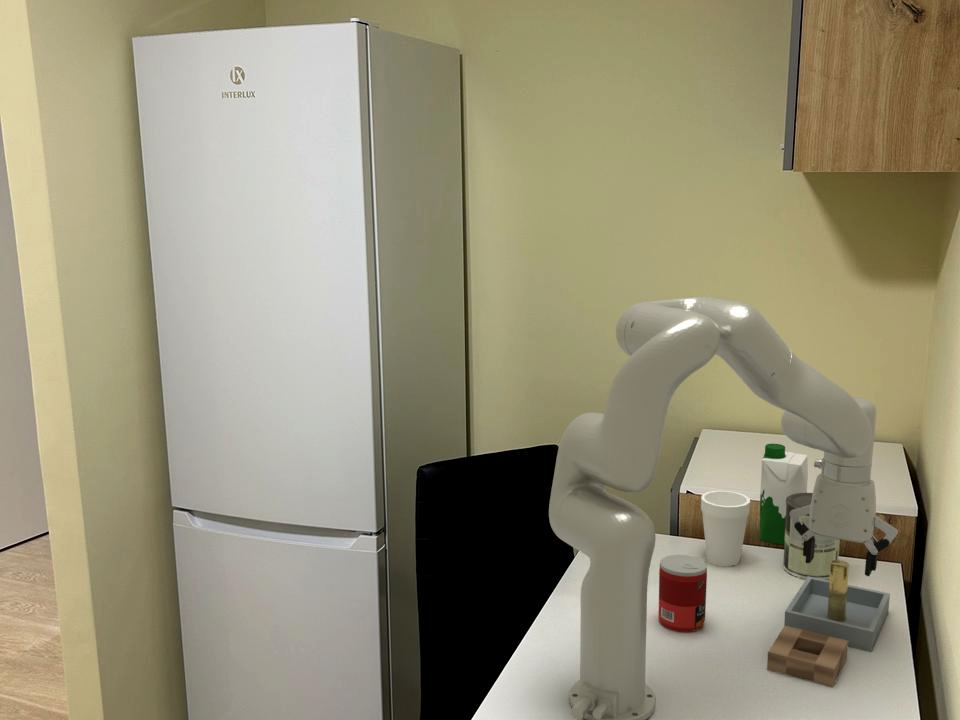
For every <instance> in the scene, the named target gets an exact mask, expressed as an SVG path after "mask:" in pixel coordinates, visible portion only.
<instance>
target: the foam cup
mask: <svg viewBox="0 0 960 720" xmlns="http://www.w3.org/2000/svg"><path fill="white" fill-rule="evenodd" d="M700 498H701V500H700V511H701V512H702V524H703V533H704V541H705V542H704V543H705V552H706V560H707V561H708V562H709V563H710V564H712V565H715V566H717V565H719V566H718V567H723V566H730V567H733V566H732V565H735V566H737V565H738V564H740V560H741V555H742V550H743V545H744V539H745V533H746V530H747V523H748V518H749V514H750V508H751V498H750V497H748V496H747V495H746V494H743V493H740V492H736V491H732V490H713V491H711V490H710V491H707V492H705V493H703V494H701V497H700ZM737 563H738V564H737ZM736 564H737V565H736Z"/></svg>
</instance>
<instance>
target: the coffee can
mask: <svg viewBox="0 0 960 720" xmlns="http://www.w3.org/2000/svg"><path fill="white" fill-rule="evenodd" d="M812 495H813V492H807V493H796V494H792V495H790V496H788V497H787V498H786V524H785V543H784V547H783V548H784V549H783V564H782V568H783V570H784V569H785V570H786V571H787V572H788V573H787V572H786V571H785V570H784V571H785V572H786V573H787V574H789V573H790V574H793V575H794V576H793V577H795V576H797V577H796V578H798V577H800V578H799V579H801V578H804V579H803V580H806V578H807V577H808V576H809V577H814V578H819V579H824V580H828V579H829V577H830V562H831V561H833V560H839V556H840V555H839V554H840V540H841V539H836V538H831V537H826V536H821V535H817V534H815V535H814V538H815V549H814V558H813V560H812V561H811V562H810V563H809V564H808V563H806V562H805V561H806V556H803V546H804V540H803V539H802V536H801V535H800V534H799V532H798V531H797V530H796V529H795V527H794V523H793V522H792V519H791V517H790V515H789V513H790V512H791V511H792V510H793V509H797V508H801V507H804V506H808V505H811V500H812ZM800 517H801V520H802V522H803V523H804V524H805V525H806V526H807V528H809V514H807V515H803V516H800ZM812 520H813V519H812ZM790 574H789V575H790ZM828 581H829V580H828Z"/></svg>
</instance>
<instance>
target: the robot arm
mask: <svg viewBox="0 0 960 720" xmlns="http://www.w3.org/2000/svg"><path fill="white" fill-rule="evenodd" d="M615 337H616V338H615V339H616V342H617V344H618V346H619V348H620V349H621V351H622V352H623V353H625V354H626V355H628V356H629V357H628V358H627V360H625V362H624V363H623V364H622V365H621V366H620V367H619V369H618V370H617V372H616V374H615V375H614V377H613V379H612V382H611V384H610V388H609V391H608V395H607V400H606V405H605V408H604V413H601V412H594V411H592V412H591V411H590V412H585V413H583V414H580V415H578V416H577V417H575V418H574V419H572V421H571V422H570V423H569V424H568V425H567V427H566V428H565V430H564V432H563V434H562V436H561V438H560V440H559V441H560V442H559V445H558V450H557V455H556V461H555V465H554V466H555V467H554V474H553V479H552V486H551V491H550V497H549V498H550V499H549V506H548V507H549V508H548V518H549V524H550V527H551V529H552V531H553V533H554V534H555V536H557V538H559V539H560V540H562V541H563V542H564V543H566V544H567V545H569V546H571V547H572V548H574V549H576V550H577V551H579V552H581V553H582V554H584V555H586V557H588V558H589V561H590V565H589V568H588V569H587V572H586V574H585V576H584V577H583V580H582V581H581V582H582V583H581V587H580V637H579V638H580V643H579V644H580V648H579V649H580V650H579V651H580V652H579V653H580V655H579V656H580V657H579V658H580V659H579V663H580V665H579V677H580V678H579V680H578V681H576V682H575V683H574V684H573V685H572V686H571V688H570V690H569V704H570V706H571V709H570V715H571V716H572V717H573V719H575V720H582V719H584V720H646V719H648V718H650V717H651V716H652V715H653V713H654V712H655V709H656V695H655V693H654V691H653V690H652V688H650V687H649V685H647V684H646V662H647V661H646V660H647V659H646V658H647V657H646V655H647V652H646V651H647V649H646V648H647V619H648V618H647V616H648V613H647V612H648V609H647V608H648V607H647V606H648V605H647V604H648V586H649V585H648V583H649V574H650V567H651V563H652V559H653V554H654V550H655V546H656V541H657V539H656V537H657V536H656V530H655V526H654V523H653V521H652V520H651V518H650V517H649V516H648V514H647V513H646V512H645V511H643V510H642V509H641V508H640V507H639V506H637V505H635V504H634V503H633V502H630V501H629V500H626V499H624V498H622V497H620V496H618V495H615V494H613V493H610V492H608V491H606V487H607V486H608V487H610V488H612V489H614V490H617V491H620V492H623V493H628V494H638V493H641V492H643V491H645V490H646V489H648V488H649V486H650V485H651V484H652V483H653V480H654V478H655V477H656V472H657V470H658V469H657V468H658V464H659V460H660V453H661V447H662V442H663V436H664V430H665V425H666V420H667V414H668V412H669V411H668V410H669V405H670V403H671V400H672V398H673V396H674V394H675V393H676V391H677V390H678V388H679V387H680V386H681V384H682V383H684V382H685V381H686V379H688V378H689V377H690V376H692V375H693V374H694V373H695V372H697V371H698V370H700V369H701V368H703V367H705V366H706V365H707V364H708V363H709V362H710V361H711V360H712V359H713V358H714V356H715V355H716V356H718V357H719V358H721V359H722V360H724V362H725V363H726V364H727V365H728V366H729V367H730V368H731V370H733V372H735V374H736V375H737V376H738V377H739V378H740V379H741V381H742V382H743V383H744V384H745V385H746V386H747V387H748V389H749V390H750V391H751V392H752V393H753V394H754V395H756V396H757V397H758V398H760V399H762V400H763V401H765V402H766V403H769V404H771V405H773V406H775V407H776V408H779V409H781V410H784V411H783V414H782V415H781V420H780V425H781V427H780V428H781V429H782V432H783V433H784V435H785V436H786V437H787V438H788V439H789V440H791V441H792V442H794V443H795V444H799V445H802V446H804V447H808V448H810V449H814V450H818V451H822V452H823V458H822V459H815V460H814V462H813V466H814V468H818V469H819V470H820V471H821V473H819V474H817V476H816V478H815V482H814V486H813V489H812V490H813V491H812V493H813V495H812V500H811V505H808V506H804V507H801V508H797V509H793V510H792V511H791V512H790V513H789V515H790V517H791V519H792V522H793V523H794V527H795V529H796V530H797V531H798V532H799V534H800V535H801V536H802V539H803V540H804V546H803V556H806V561H805V562H806V563H808V564H809V563H810V562H811V561H812V560H813V558H814V549H815V538H814V535H815V534H817V535H821V536H826V537H831V538H836V539H840V540H842V541H847V542H852V543H859V544H864V545H865V546H866V549H867V550H868V551H867V553H866V555H865V567H864V576H866V577H870V576H871V574H872V572H875V571H876V569H877V565H878V554H879V552H881V551H883V550H884V549H886V548H887V547H889V546H890V544H891V543H892V541H893V540H894V539H895V538H896V536H897V535H898V533H899V531H898V529H897V528H896V527H894V526H892V525H891V524H890V523H888V522H887V521H885V520H884V519H882V518H881V517H879V516H878V515H877V496H876V486H875V481H874V480H872V479H871V478H872V477H871V475H872V474H871V473H872V464H873V455H874V454H873V453H874V442H875V435H876V433H875V432H876V431H875V430H876V423H877V422H876V421H877V420H876V419H877V407H876V405H875V403H873V402H872V401H871V400H869V399H866V398H861V397H856V396H855V397H854V396H852V395H851V394H849V392H847V391H846V390H845V389H844V388H843V387H841V386H840V385H839V384H837V383H836V382H835V381H833V380H831V379H830V378H829V377H827V376H825V375H824V374H822V372H820V371H818V370H817V369H816V368H815V367H813V366H812V365H810V364H808V363H806V362H805V361H804V360H802V359H801V358H799V357H798V356H797V355H796V354H795V353H794V351H793V350H792V349H791V348H790V346H788V344H787V343H786V342H785V341H784V340H783V338H782V337H781V336H780V334H778V333H777V331H776V330H775V329H774V327H773V326H772V325H771V324H770V323H769V321H768V320H767V319H766V318H765V316H763V314H762V313H761V312H760V311H759V310H758V309H757V308H756V307H754V306H752V305H751V304H748V303H745V302H743V301H736V300H732V299H731V300H730V299H725V298H724V299H723V298H716V297H710V296H693V297H692V296H691V297H680V298H671V299H660V300H652V301H651V300H650V301H642V302H638V303H635V304H633V305H631V306H629V307H628V308H627V309H625V310H624V311H623V313H622V314H621V315H620V317H619V318H618V321H617V324H616V328H615ZM807 514H809V528H807V526H806V525H805V524H804V523H803V522H802V520H801V517H800V516H803V515H807ZM812 519H813V520H812ZM876 528H877V529H879V531H882V532H883V533H885V536H884V537H882V538H881V539H879V540H878V539H877V538H876V536H875V535H874V534H875V531H876Z"/></svg>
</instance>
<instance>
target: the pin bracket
mask: <svg viewBox="0 0 960 720" xmlns="http://www.w3.org/2000/svg"><path fill="white" fill-rule="evenodd" d="M848 648H849V646H848V641H847V640H843V639H839V638H835V637H831V636H827V635H823V634H818V633H814V632H810V631H806V630H802V629H798V628H793V627H789V626H783V627H782V629H781V631H780V632H779V633H778V635H777V637H776V638H775V640H774V642H773V643H772V645H771V646H770V647H769V650H768V651H767V665H766V670H768V671H770V672H776V673H778V674H783V675H787V676H790V677H794V678H798V679H802V680H805V681H809V682H812V683H817V684H820V685H822V686H823V685H824V686H828V687H831V688H834V687H835V684H836V683H837V680H838V678H839V676H840V674H841V672H842V669H843V668H844V666H845V663H846V661H847V659H848V651H849V650H848Z"/></svg>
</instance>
